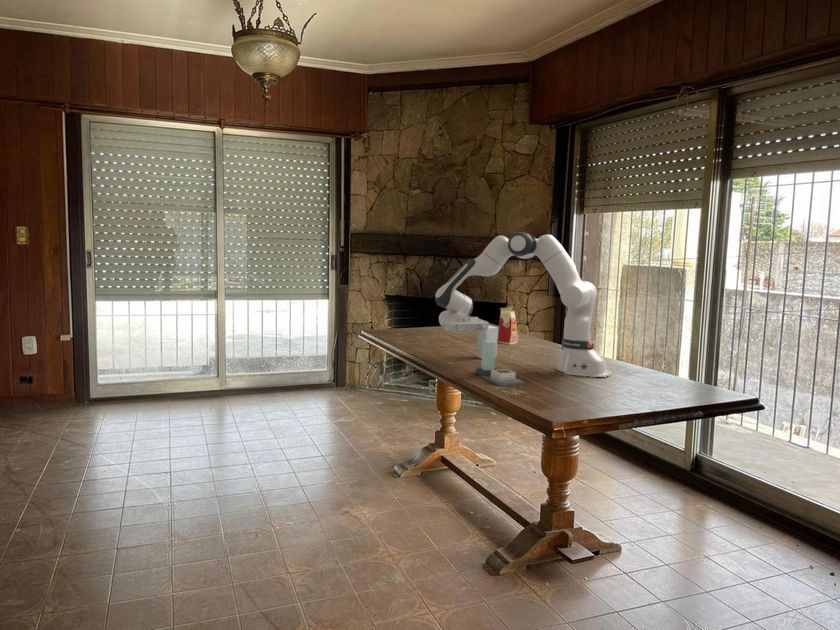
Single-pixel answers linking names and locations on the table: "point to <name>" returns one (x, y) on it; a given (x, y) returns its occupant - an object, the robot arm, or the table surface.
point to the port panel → (503, 378)
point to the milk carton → (507, 327)
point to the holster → (483, 371)
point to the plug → (488, 355)
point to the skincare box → (486, 339)
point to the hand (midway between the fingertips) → (474, 329)
